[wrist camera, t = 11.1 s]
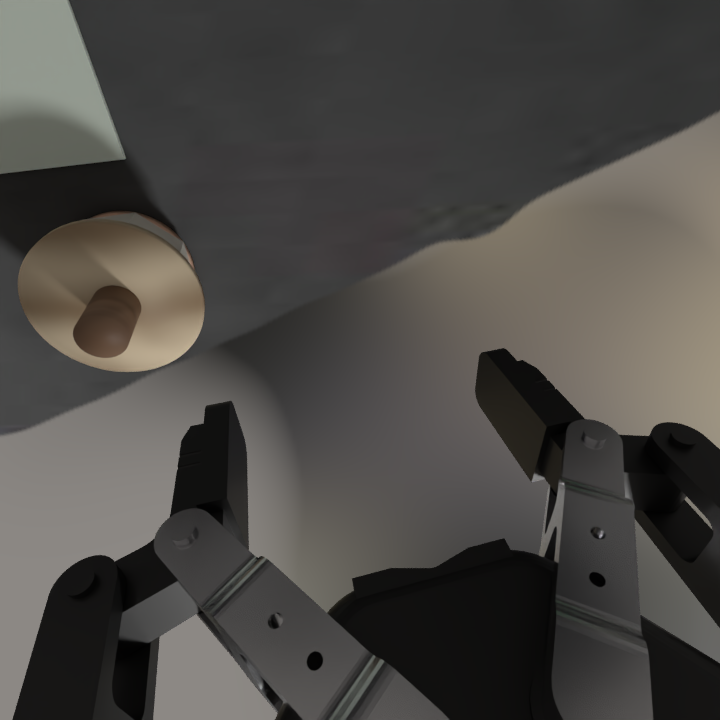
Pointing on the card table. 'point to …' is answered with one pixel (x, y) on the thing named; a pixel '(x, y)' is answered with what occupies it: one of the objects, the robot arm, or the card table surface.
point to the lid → (112, 295)
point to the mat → (49, 91)
